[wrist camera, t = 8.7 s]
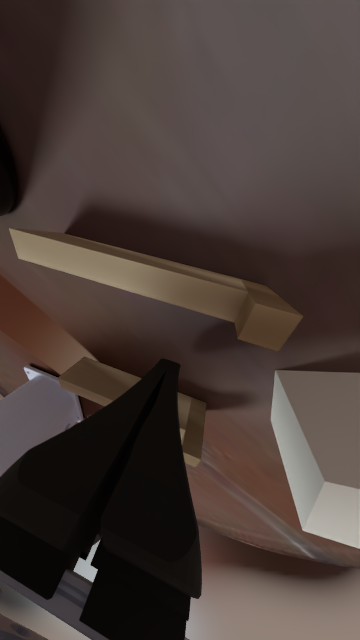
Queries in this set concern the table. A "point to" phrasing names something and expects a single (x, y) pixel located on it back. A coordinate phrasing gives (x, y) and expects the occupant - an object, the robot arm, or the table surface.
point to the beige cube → (321, 449)
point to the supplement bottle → (6, 179)
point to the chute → (165, 285)
